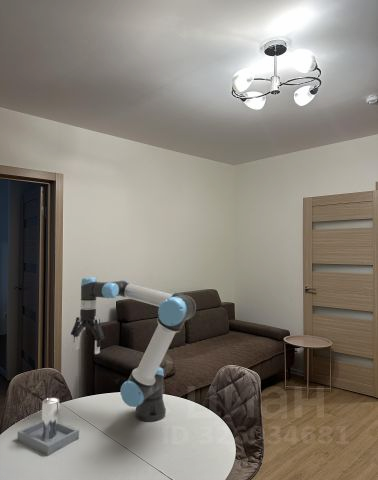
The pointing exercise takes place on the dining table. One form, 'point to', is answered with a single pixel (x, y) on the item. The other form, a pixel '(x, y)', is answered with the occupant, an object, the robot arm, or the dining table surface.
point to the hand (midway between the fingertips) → (86, 351)
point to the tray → (33, 439)
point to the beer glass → (50, 418)
